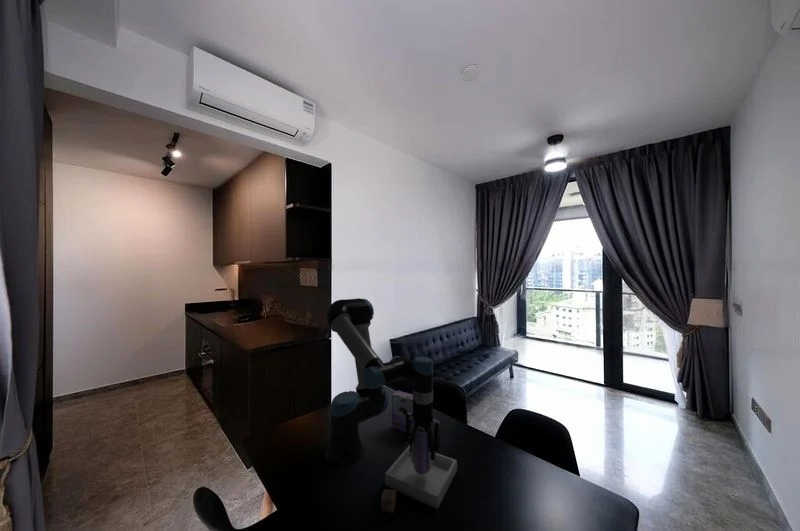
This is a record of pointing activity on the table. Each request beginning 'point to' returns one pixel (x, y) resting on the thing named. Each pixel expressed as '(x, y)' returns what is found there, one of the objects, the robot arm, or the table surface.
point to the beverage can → (421, 451)
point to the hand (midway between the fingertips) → (422, 464)
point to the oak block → (388, 501)
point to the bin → (422, 478)
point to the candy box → (401, 410)
